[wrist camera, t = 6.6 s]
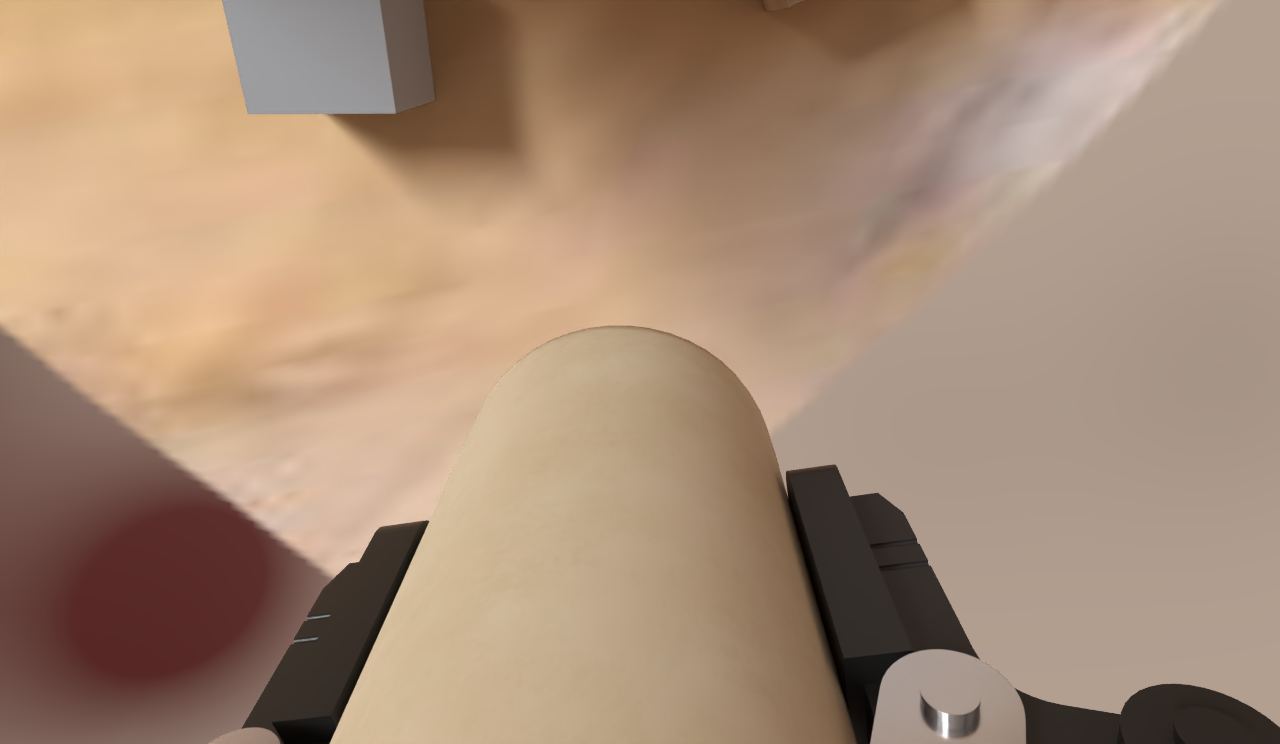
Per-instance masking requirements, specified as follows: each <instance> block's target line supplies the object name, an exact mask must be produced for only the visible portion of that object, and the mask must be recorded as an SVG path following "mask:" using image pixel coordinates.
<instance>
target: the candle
mask: <svg viewBox="0 0 1280 744" xmlns="http://www.w3.org/2000/svg"><path fill="white" fill-rule="evenodd" d="M330 744H858V742H857V738H856V735H855V731H854V728H853V724H852V721H851V717H850V714H849V710H848V707H847V703H846V700H845V696H844V693H843V689H842V686H841V682H840V679H839V675H838V672H837V668H836V665H835V661H834V658H833V654H832V651H831V647H830V644H829V640H828V637H827V633H826V630H825V626H824V623H823V619H822V616H821V612H820V609H819V605H818V602H817V598H816V595H815V591H814V588H813V584H812V581H811V577H810V574H809V570H808V567H807V563H806V560H805V556H804V553H803V549H802V546H801V542H800V539H799V535H798V532H797V528H796V525H795V521H794V518H793V514H792V511H791V507H790V504H789V500H788V497H787V493H786V490H785V486H784V483H783V479H782V476H781V472H780V469H779V465H778V462H777V458H776V455H775V451H774V448H773V445H772V442H771V439H770V436H769V433H768V430H767V427H766V424H765V422H764V419H763V417H762V414H761V411H760V410H759V408H758V406H757V404H756V403H755V401H754V399H753V397H752V396H751V394H750V393H749V391H748V390H747V388H746V387H745V386H744V385H743V383H742V382H741V381H740V380H739V378H738V377H737V376H736V374H735V373H734V372H732V371H731V370H730V369H729V368H728V367H727V366H726V365H725V364H724V363H723V362H722V361H721V360H719V359H718V358H717V357H715V356H714V355H712V354H711V353H710V352H708V351H707V350H705V349H703V348H702V347H700V346H698V345H696V344H694V343H692V342H690V341H689V340H686V339H683V338H681V337H678V336H676V335H673V334H671V333H667V332H663V331H659V330H655V329H651V328H643V327H635V326H603V327H595V328H588V329H584V330H580V331H576V332H572V333H568V334H566V335H563V336H560V337H558V338H555V339H553V340H550V341H549V342H547V343H545V344H543V345H541V346H539V347H538V348H536V349H534V350H533V351H531V352H530V353H529V354H527V355H526V356H525V357H523V358H522V359H520V360H519V361H518V362H517V363H516V364H515V365H514V366H513V367H512V368H511V369H510V370H509V371H508V372H507V373H506V374H505V375H504V376H503V377H502V378H501V379H500V381H499V382H498V383H497V385H496V386H495V387H494V388H493V390H492V391H491V392H490V394H489V396H488V397H487V399H486V401H485V403H484V405H483V407H482V408H481V410H480V412H479V414H478V416H477V418H476V420H475V422H474V424H473V426H472V428H471V430H470V432H469V435H468V437H467V439H466V441H465V444H464V446H463V448H462V450H461V452H460V455H459V457H458V459H457V461H456V464H455V466H454V468H453V470H452V473H451V475H450V477H449V479H448V481H447V484H446V486H445V488H444V490H443V493H442V495H441V497H440V499H439V501H438V504H437V506H436V508H435V510H434V513H433V515H432V517H431V519H430V521H429V524H428V526H427V528H426V530H425V533H424V535H423V537H422V539H421V541H420V544H419V546H418V548H417V550H416V553H415V555H414V557H413V559H412V561H411V564H410V566H409V568H408V570H407V573H406V575H405V577H404V579H403V581H402V584H401V586H400V588H399V590H398V593H397V595H396V597H395V599H394V602H393V604H392V606H391V608H390V610H389V613H388V615H387V617H386V619H385V622H384V624H383V626H382V628H381V630H380V633H379V635H378V637H377V639H376V642H375V644H374V646H373V648H372V650H371V653H370V655H369V657H368V659H367V662H366V664H365V666H364V668H363V670H362V673H361V675H360V677H359V679H358V682H357V684H356V686H355V688H354V690H353V693H352V695H351V697H350V699H349V702H348V704H347V706H346V708H345V710H344V713H343V715H342V717H341V719H340V722H339V724H338V726H337V728H336V731H335V733H334V735H333V737H332V739H331V742H330Z"/></svg>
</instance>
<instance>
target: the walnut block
mask: <svg viewBox="0 0 1280 744" xmlns="http://www.w3.org/2000/svg"><path fill="white" fill-rule="evenodd" d="M761 1H762V3H763V6H764V9H765V12H768V11H774V10H780V9H786V8H790V7H792V6H793V5H795V4H797V3H799V2H801V1H803V0H761Z"/></svg>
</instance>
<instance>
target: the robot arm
mask: <svg viewBox="0 0 1280 744" xmlns="http://www.w3.org/2000/svg"><path fill="white" fill-rule="evenodd" d="M786 482H787V492H788V500H789V504H790V507H791V511H792V514H793V518H794V521H795V525H796V528H797V532H798V535H799V539H800V542H801V546H802V549H803V553H804V556H805V560H806V563H807V567H808V570H809V574H810V577H811V581H812V584H813V588H814V591H815V595H816V598H817V602H818V605H819V609H820V612H821V616H822V619H823V623H824V626H825V630H826V633H827V637H828V640H829V644H830V647H831V651H832V654H833V658H834V661H835V665H836V668H837V672H838V675H839V679H840V682H841V686H842V689H843V693H844V696H845V700H846V703H847V707H848V710H849V714H850V717H851V721H852V724H853V728H854V731H855V735H856V738H857V742H858V744H1280V727H1278V726H1277V725H1276V724H1275V723H1274V722H1272V721H1271V720H1270V719H1268V718H1267V717H1266V716H1264V715H1263V714H1261V713H1260V712H1258V711H1256V710H1255V709H1253V708H1252V707H1250V706H1248V705H1246V704H1244V703H1242V702H1240V701H1238V700H1236V699H1234V698H1232V697H1229V696H1227V695H1224V694H1222V693H1219V692H1216V691H1213V690H1209V689H1206V688H1201V687H1196V686H1192V685H1182V684H1161V685H1156V686H1151V687H1148V688H1145V689H1143V690H1140V691H1138V692H1137V693H1136V694H1134V695H1132V696H1131V697H1130V698H1129V700H1128V701H1127V702H1126V703H1125V705H1124V707H1123V709H1122V712H1121V715H1120V714H1114V713H1108V712H1102V711H1096V710H1089V709H1083V708H1078V707H1072V706H1065V705H1060V704H1055V703H1051V702H1046V701H1044V700H1041V699H1038V698H1035V697H1032V696H1030V695H1028V694H1025V693H1023V692H1021V691H1019V690H1017V689H1015V688H1014V687H1013V686H1012V685H1011V683H1010V682H1009V681H1008V680H1007V679H1006V678H1005V677H1004V676H1003V675H1002V674H1001V673H1000V672H999V671H997V670H996V669H994V668H993V667H992V666H990V665H989V664H987V663H985V662H983V661H981V660H980V659H979V657H978V656H977V654H976V653H975V651H974V649H973V648H972V645H971V644H970V642H969V640H968V638H967V636H966V634H965V632H964V630H963V628H962V626H961V624H960V622H959V620H958V618H957V616H956V614H955V612H954V610H953V609H952V606H951V604H950V603H949V601H948V599H947V597H946V595H945V593H944V591H943V589H942V587H941V585H940V583H939V581H938V579H937V578H936V575H935V573H934V571H933V570H932V567H931V566H929V564H928V560H927V558H926V556H925V554H924V552H923V550H922V548H921V546H920V544H918V543H917V538H916V536H915V534H914V532H913V531H912V528H911V526H910V524H909V523H908V521H907V519H906V517H905V515H904V513H903V512H902V511H900V510H899V509H898V508H897V507H895V506H894V505H893V504H891V503H890V502H889V501H888V500H886V499H885V498H884V497H882V496H881V495H880V494H879V493H874V494H866V495H859V496H852V497H849V495H848V492H847V490H846V487H845V485H844V482H843V480H842V478H841V475H840V473H839V470H838V468H837V466H836V465H827V466H820V467H813V468H805V469H799V470H791V471H787V472H786ZM428 524H429V521H427V520H426V521H419V522H412V523H405V524H398V525H391V526H384V527H380V528H379V529H378V530H377V531H376V532H375V534H374V536H373V538H372V539H371V541H370V543H369V545H368V547H367V549H366V550H365V552H364V554H363V556H362V558H361V560H360V561H359V562H357V563H350V564H348V565H347V566H346V567H345V568H344V569H343V570H342V571H341V572H340V573H339V574H338V575H337V576H336V577H335V578H334V579H333V580H332V581H331V582H330V583H329V584H328V585H327V586H326V587H324V588H323V590H322V592H321V593H320V595H319V597H318V599H317V600H316V602H315V604H314V605H313V607H312V609H311V611H310V612H309V614H308V616H307V617H308V621H304V623H303V624H302V626H301V628H300V629H299V631H298V633H297V635H296V636H295V638H294V640H295V642H294V644H292V645H290V647H289V648H288V650H287V652H286V654H285V655H284V657H283V659H282V660H281V662H280V664H279V665H278V667H277V669H276V670H275V672H274V674H273V676H272V677H271V679H270V681H269V682H268V684H267V686H266V688H265V689H264V691H263V693H262V694H261V696H260V698H259V700H258V701H257V703H256V705H255V706H254V708H253V710H252V712H251V713H250V715H249V717H248V719H247V720H246V722H245V724H244V725H243V727H242V729H240V730H236V731H233V732H230V733H227V734H225V735H223V736H221V737H218V738H217V739H215V740H213V741H211V742H209V743H208V744H330V742H331V739H332V737H333V735H334V733H335V731H336V728H337V726H338V724H339V722H340V719H341V717H342V715H343V713H344V710H345V708H346V706H347V704H348V702H349V699H350V697H351V695H352V693H353V690H354V688H355V686H356V684H357V682H358V679H359V677H360V675H361V673H362V670H363V668H364V666H365V664H366V662H367V659H368V657H369V655H370V653H371V650H372V648H373V646H374V644H375V642H376V639H377V637H378V635H379V633H380V630H381V628H382V626H383V624H384V622H385V619H386V617H387V615H388V613H389V610H390V608H391V606H392V604H393V602H394V599H395V597H396V595H397V593H398V590H399V588H400V586H401V584H402V581H403V579H404V577H405V575H406V573H407V570H408V568H409V566H410V564H411V561H412V559H413V557H414V555H415V553H416V550H417V548H418V546H419V544H420V541H421V539H422V537H423V535H424V533H425V530H426V528H427V526H428Z"/></svg>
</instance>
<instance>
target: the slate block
mask: <svg viewBox="0 0 1280 744" xmlns="http://www.w3.org/2000/svg"><path fill="white" fill-rule="evenodd" d="M222 2H223V7H224V11H225V15H226V20H227V24H228V29H229V33H230V37H231V42H232V46H233V50H234V55H235V59H236V64H237V68H238V72H239V77H240V81H241V86H242V90H243V94H244V99H245V103H246V108H247V112H248V114H396V113H399V112H402V111H405V110H408V109H411V108H414V107H417V106H420V105H424V104H427V103H430V102H433V101H435V93H434V84H433V76H432V68H431V59H430V51H429V43H428V35H427V26H426V18H425V10H424V1H423V0H222Z"/></svg>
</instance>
